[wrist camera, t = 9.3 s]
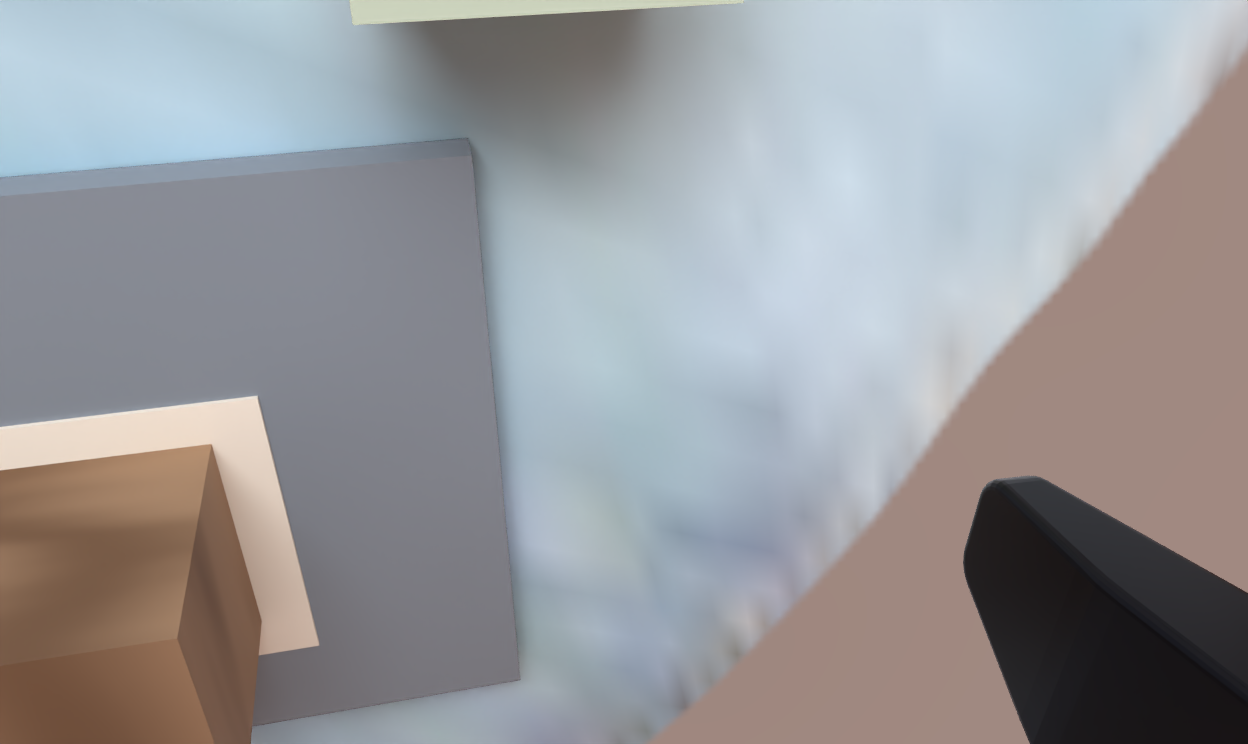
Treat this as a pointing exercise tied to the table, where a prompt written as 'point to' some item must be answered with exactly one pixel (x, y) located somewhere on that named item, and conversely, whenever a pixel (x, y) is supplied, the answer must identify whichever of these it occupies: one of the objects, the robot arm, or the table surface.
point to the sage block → (495, 8)
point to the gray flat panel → (286, 392)
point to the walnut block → (124, 604)
